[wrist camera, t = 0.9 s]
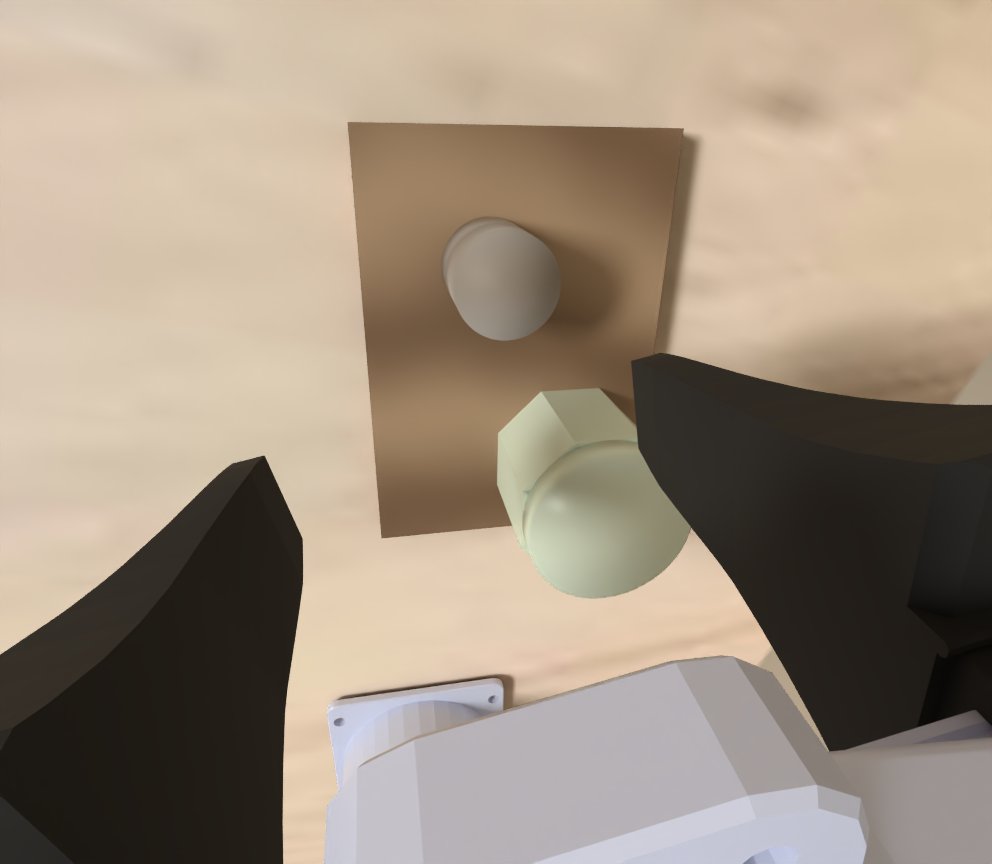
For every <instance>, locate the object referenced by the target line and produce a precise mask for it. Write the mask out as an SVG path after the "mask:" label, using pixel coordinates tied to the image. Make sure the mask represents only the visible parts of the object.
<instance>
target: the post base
mask: <svg viewBox="0 0 992 864" xmlns="http://www.w3.org/2000/svg"><path fill="white" fill-rule="evenodd" d="M683 130H684V129H681V128H628V127H574V126H521V125H468V124H415V123H361V122H348V131H349V143H350V155H351V167H352V180H353V192H354V204H355V217H356V229H357V241H358V253H359V266H360V278H361V290H362V303H363V315H364V327H365V339H366V352H367V364H368V376H369V389H370V401H371V413H372V426H373V438H374V450H375V462H376V475H377V487H378V499H379V512H380V524H381V536H382V538H390V537H400V536H410V535H420V534H431V533H441V532H451V531H461V530H471V529H482V528H492V527H502V526H512V524H511V521H510V518H509V515H508V513H507V510H506V507H505V505H504V502H503V499H502V497H501V494H500V491H499V488H498V486H497V463H498V433H499V432H500V431H501V430H502V429H503V428H504V427H505V426H506V425H507V424H508V423H509V422H510V421H511V420H512V419H513V418H514V417H515V416H516V415H517V414H518V413H519V412H520V411H521V410H522V409H524V408H525V407H526V406H527V405H528V404H529V403H530V402H531V401H532V400H533V399H534V398H535V397H536V396H537V395H538V394H539V393H540V392H541V391H558V390H575V389H592V388H600V390H601V391H602V392H603V393H604V394H605V395H606V396H607V397H608V398H609V399H610V400H611V401H612V402H613V403H614V404H615V405H616V406H617V407H618V408H619V409H620V410H621V411H622V412H623V413H624V414H625V415H626V416H627V417H628V418H629V419H630V420H631V421H632V422H633V423H634V424H635V425H636V415H635V403H634V391H633V379H632V367H631V361H632V360H636V359H640V358H643V357H647V356H651V355H653V353H654V346H655V338H656V331H657V324H658V316H659V309H660V301H661V294H662V286H663V279H664V271H665V264H666V257H667V249H668V242H669V234H670V227H671V219H672V212H673V204H674V197H675V189H676V182H677V175H678V167H679V160H680V152H681V145H682V137H683Z"/></svg>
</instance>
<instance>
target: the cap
mask: <svg viewBox="0 0 992 864" xmlns="http://www.w3.org/2000/svg"><path fill="white" fill-rule="evenodd" d="M497 486H498V488H499V491H500V494H501V497H502V499H503V502H504V505H505V507H506V510H507V513H508V515H509V518H510V521H511V524H512V526H513V529H514V532H515V534H516V537H517V540H518V542H519V545H520V548H521V549H522V550H523V551H525V552H526V553H527V554H529V555H530V556H531V557H532V560H533V563H534V565H535V567H536V569H537V571H538V572H539V574H540V575H541V576H542V577H543V579H544V580H545V581H547V582H548V583H549V584H550V585H551V586H553V587H554V588H556V589H558V590H559V591H562V592H564V593H566V594H569V595H573V596H576V597H582V598H606V597H611V596H616V595H620V594H623V593H626V592H629V591H632V590H634V589H636V588H638V587H640V586H642V585H644V584H646V583H647V582H649V581H651V580H652V579H654V578H655V577H656V576H658V575H659V574H660V573H662V572H663V571H664V570H665V569H666V568H667V567H668V566H669V565H670V564H671V563H672V561H673V560H674V559H675V558H676V557H677V555H678V554H679V552H680V551H681V550H682V548H683V546H684V544H685V542H686V540H687V538H688V535H689V533H690V530H691V526H690V525H689V524H688V523H687V521H686V520H685V519H684V518H683V516H682V515H681V514H680V512H679V511H678V510H677V509H676V507H675V506H674V505H673V503H672V502H671V501H670V499H669V498H668V497H667V496H666V494H665V493H664V492H663V490H662V489H661V488H660V486H659V485H658V483H657V481H656V480H655V478H654V476H653V474H652V473H651V471H650V469H649V467H648V465H647V464H646V462H645V460H644V458H643V456H642V454H641V453H640V451H639V449H638V439H637V427H636V425H635V424H634V423H633V422H632V421H631V420H630V419H629V418H628V417H627V416H626V415H625V414H624V413H623V412H622V411H621V410H620V409H619V408H618V407H617V406H616V405H615V404H614V403H613V402H612V401H611V400H610V399H609V398H608V397H607V396H606V395H605V394H604V393H603V392H602V391H601V390H600V388H592V389H575V390H558V391H541V392H540V393H539V394H538V395H537V396H536V397H535V398H534V399H533V400H532V401H531V402H530V403H529V404H528V405H527V406H526V407H525V408H524V409H522V410H521V411H520V412H519V413H518V414H517V415H516V416H515V417H514V418H513V419H512V420H511V421H510V422H509V423H508V424H507V425H506V426H505V427H504V428H503V429H502V430H501V431H500V432H499V433H498V463H497Z"/></svg>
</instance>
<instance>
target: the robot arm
mask: <svg viewBox="0 0 992 864" xmlns="http://www.w3.org/2000/svg"><path fill="white" fill-rule="evenodd" d="M631 367H632V379H633V391H634V403H635V415H636V427H637V439H638V449H639V451H640V453H641V454H642V456H643V458H644V460H645V462H646V464H647V465H648V467H649V469H650V471H651V473H652V474H653V476H654V478H655V480H656V481H657V483H658V485H659V486H660V488H661V489H662V490H663V492H664V493H665V494H666V496H667V497H668V498H669V499H670V501H671V502H672V503H673V505H674V506H675V507H676V509H677V510H678V511H679V512H680V514H681V515H682V516H683V518H684V519H685V520H686V521H687V523H688V524H689V525H690V526H691V528H692V529H693V530H694V531H695V533H696V534H697V535H698V537H699V538H700V539H701V540H702V542H703V543H704V544H705V545H706V547H707V548H708V549H709V551H710V552H711V553H712V554H713V556H714V557H715V558H716V559H717V561H718V562H719V563H720V565H721V566H722V567H723V569H724V570H725V572H726V573H727V574H728V576H729V577H730V579H731V580H732V581H733V583H734V584H735V586H736V588H737V589H738V591H739V592H740V594H741V596H742V597H743V599H744V601H745V602H746V604H747V605H748V607H749V609H750V610H751V612H752V614H753V615H754V617H755V618H756V620H757V622H758V623H759V625H760V627H761V628H762V630H763V632H764V634H765V635H766V637H767V639H768V640H769V642H770V644H771V646H772V647H773V649H774V651H775V652H776V654H777V656H778V658H779V659H780V661H781V663H782V664H783V666H784V668H785V670H786V671H787V673H788V675H789V677H790V679H791V681H792V682H793V684H794V686H795V688H796V690H797V691H798V693H799V695H800V697H801V699H802V700H803V702H804V704H805V706H806V708H807V710H808V712H809V713H810V715H811V717H812V719H813V721H814V722H815V724H816V726H817V728H818V730H819V732H820V734H821V736H822V737H823V740H824V742H825V744H826V745H827V747H828V749H829V752H828V751H827V749H826V748H825V747H824V745H823V744H822V742H821V741H820V740H819V738H818V737H817V735H816V734H815V733H814V731H813V730H812V728H811V727H810V726H809V724H808V723H807V721H806V720H805V718H804V717H803V715H802V714H801V713H800V711H799V710H798V708H797V707H796V706H795V704H794V703H793V701H792V700H791V699H790V697H789V696H788V694H787V693H786V691H785V690H784V689H783V687H782V686H781V684H780V683H779V681H778V680H777V679H776V677H775V676H774V674H773V673H772V672H770V671H767V670H764V669H762V668H760V667H757V666H755V665H752V664H750V663H748V662H745V661H743V660H740V659H738V658H735V657H733V656H713V657H703V658H694V659H685V660H676V661H669V662H666V663H662V664H659V665H656V666H652V667H649V668H645V669H642V670H639V671H635V672H632V673H628V674H625V675H622V676H618V677H615V678H611V679H608V680H605V681H601V682H598V683H594V684H591V685H588V686H584V687H581V688H577V689H574V690H571V691H567V692H564V693H561V694H557V695H554V696H550V697H547V698H544V699H540V700H537V701H533V702H530V703H527V704H523V705H520V706H516V707H513V708H510V709H506V710H503V707H504V687H503V683H502V681H501V680H500V679H497V678H489V679H482V680H475V681H468V682H461V683H454V684H447V685H440V686H433V687H426V688H419V689H412V690H405V691H398V692H391V693H384V694H377V695H370V696H362V697H355V698H348V699H341V700H336V701H333V702H332V703H330V704H329V706H328V709H327V718H328V725H329V731H330V738H331V744H332V751H333V758H334V764H335V771H336V777H337V784H338V790H339V791H338V793H337V794H336V795H335V796H334V798H333V799H332V800H331V802H330V803H329V804H328V805H327V815H326V834H325V853H324V864H992V405H950V404H925V403H912V402H899V401H885V400H875V399H866V398H858V397H851V396H844V395H838V394H831V393H824V392H818V391H813V390H807V389H802V388H797V387H793V386H789V385H784V384H780V383H775V382H771V381H767V380H763V379H759V378H755V377H751V376H747V375H744V374H740V373H736V372H733V371H729V370H726V369H722V368H719V367H715V366H712V365H708V364H705V363H701V362H698V361H694V360H691V359H687V358H683V357H679V356H675V355H671V354H664V353H659V354H655V355H651V356H647V357H643V358H640V359H636V360H632V361H631ZM302 586H303V539H302V537H301V534H300V532H299V530H298V528H297V526H296V523H295V521H294V519H293V517H292V515H291V513H290V510H289V508H288V506H287V504H286V502H285V499H284V497H283V495H282V493H281V491H280V488H279V486H278V484H277V482H276V480H275V477H274V475H273V473H272V471H271V469H270V467H269V464H268V462H267V460H266V458H265V456H260V457H256V458H253V459H249V460H245V461H241V462H237V463H233V464H231V465H230V466H229V467H227V468H226V469H225V470H223V471H222V472H221V473H220V474H219V475H218V476H217V477H216V478H215V479H213V480H212V481H211V482H210V483H209V484H208V485H207V486H206V487H205V488H204V489H203V490H202V491H201V492H200V493H199V494H198V495H197V496H196V497H195V498H194V499H193V500H192V501H191V502H190V503H189V504H188V505H187V506H186V507H185V508H184V509H183V510H182V511H181V512H180V513H179V514H178V515H177V516H176V517H175V518H174V519H173V520H172V521H171V522H170V523H169V524H168V525H166V526H165V527H164V528H163V529H162V530H161V531H160V532H159V533H158V534H157V535H156V536H155V537H153V538H152V539H151V540H150V541H149V542H148V543H147V544H146V545H145V546H144V547H142V548H141V549H140V550H139V551H138V552H137V553H136V554H135V555H134V556H133V557H131V558H130V559H129V560H128V561H127V562H126V563H125V564H124V565H123V566H121V567H120V568H119V569H118V570H117V571H116V572H114V573H113V574H112V575H111V576H109V577H108V578H107V579H106V580H105V581H103V582H102V583H101V584H100V585H98V586H97V587H96V588H95V589H93V590H92V591H91V592H89V593H88V594H87V595H85V596H84V597H83V598H81V599H80V600H79V601H78V602H76V603H75V604H74V605H72V606H71V607H70V608H68V609H67V610H66V611H64V612H63V613H61V614H60V615H59V616H57V617H56V618H54V619H53V620H51V621H50V622H48V623H47V624H45V625H44V626H42V627H41V628H39V629H38V630H36V631H35V632H33V633H32V634H30V635H29V636H27V637H26V638H24V639H23V640H22V641H20V642H19V643H17V644H16V645H14V646H13V647H11V648H10V649H8V650H7V651H5V652H4V653H2V654H1V655H0V864H283V824H282V820H283V753H284V725H285V707H286V697H287V687H288V681H289V674H290V668H291V661H292V655H293V648H294V642H295V635H296V628H297V622H298V615H299V608H300V601H301V594H302ZM493 695H495V696H493ZM491 696H492V697H491ZM338 718H342V719H338Z"/></svg>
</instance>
